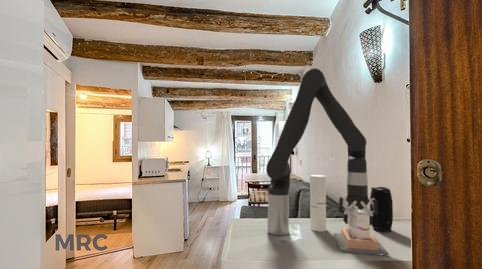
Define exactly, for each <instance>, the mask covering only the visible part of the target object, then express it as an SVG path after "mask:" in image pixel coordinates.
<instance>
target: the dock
mask: <svg viewBox="0 0 482 269" xmlns="http://www.w3.org/2000/svg"><path fill="white" fill-rule="evenodd" d="M333 237H334V239H335V241H336V244H337V247H338V248H339V251H340V253H349V254H350V253H352V254H363V255H370V254H383V255H389V254H390V253H389V252H388V251H387V250H386V248H385V247H384V246H383V245H382V244H381V243H380V242H379V240H378V239H377V238H376V237H375V236H374V235H373V234H372V233H371V232H370V240H363V239H351V238H350V236H349V234H348V227H340V232H333ZM389 256H390V255H389Z"/></svg>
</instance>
